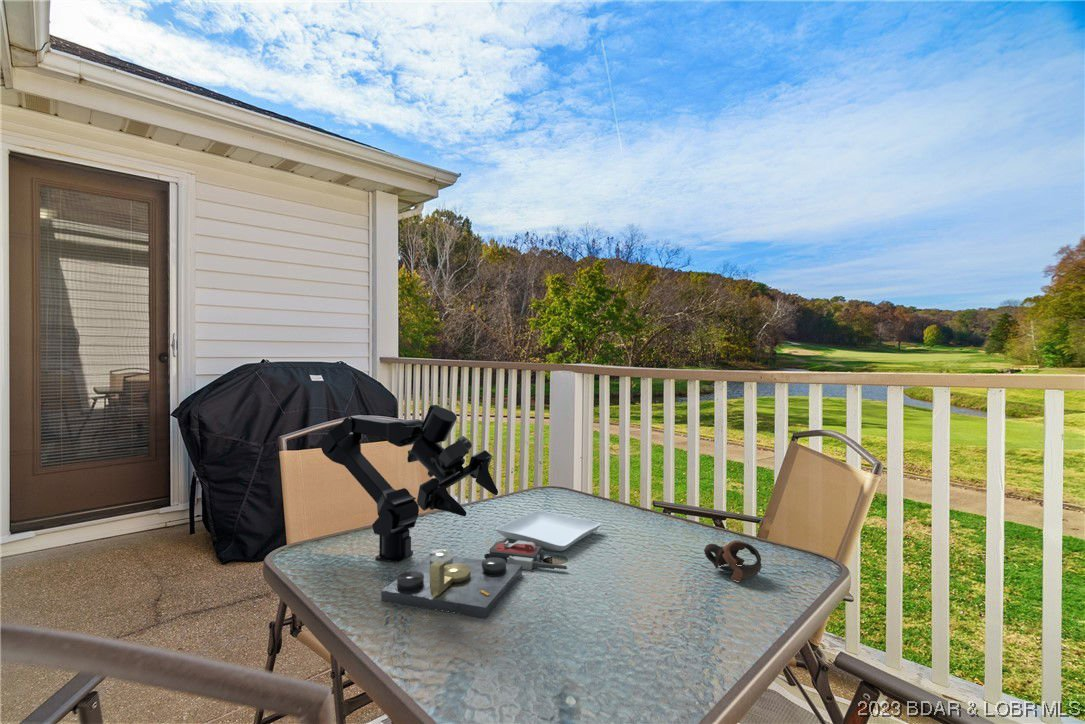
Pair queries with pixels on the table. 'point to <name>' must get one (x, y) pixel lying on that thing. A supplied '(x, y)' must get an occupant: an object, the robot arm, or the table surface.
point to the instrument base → (455, 585)
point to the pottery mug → (734, 559)
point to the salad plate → (548, 529)
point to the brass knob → (447, 575)
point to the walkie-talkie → (521, 554)
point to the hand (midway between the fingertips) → (482, 503)
